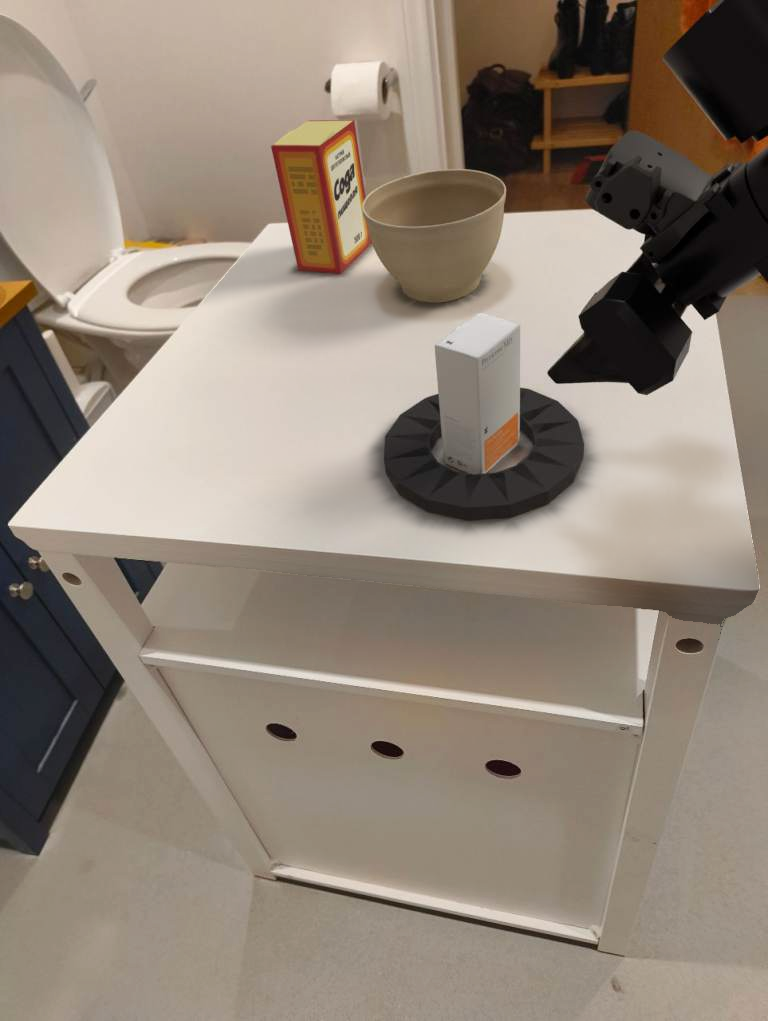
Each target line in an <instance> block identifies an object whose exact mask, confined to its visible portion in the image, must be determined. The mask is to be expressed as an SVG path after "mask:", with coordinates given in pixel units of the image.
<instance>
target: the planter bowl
mask: <svg viewBox="0 0 768 1021" xmlns="http://www.w3.org/2000/svg"><path fill="white" fill-rule="evenodd" d="M365 197H366V198H365V199H364V201H363V204H362V211H363V216H364V218H365V221H366V223H367V227H368V232H369V236H370V239H371V242H372V243H371V244H372V247H373V250H374V252H375V253H376V256H377V258H378V259H379V261H380V263H381V264H382V265H383V267H384V268H385V269H386V271H387V272H388V273H389V274H390V276H391V277H393V278H394V279H395V280H396V281H397V282H398V283H399V284H400V287H401V289H402V292H403V293H404V295H405V296H407V297H408V298H410V299H412V300H415V301H418V302H423V303H445V302H451V301H455V300H458V299H461V298H464V297H466V296H467V295H470V294H471V293H473V292H474V291H475V290H476V289H477V288H478V287H479V285H480V283H481V279H482V274H483V272H484V271H485V270H486V268H487V267H488V264H489V263H490V262H491V261H492V258H493V256H494V254H495V252H496V250H497V246H498V244H499V241H500V238H501V234H502V230H503V225H504V218H505V217H504V215H505V203H506V200H507V199H506V198H507V186H506V185H505V183H504V181H503V180H502V179H500V177H497V176H496V175H493V174H491V173H488V172H486V171H485V172H484V171H481V170H475V169H468V168H467V169H466V168H448V169H434V170H427V171H422V172H416V173H413V174H409V175H405V176H402V177H399V178H396V179H393V180H391V181H388V182H385V183H384V184H382V185H380V186H378V187H377V188H375V189H374V190H372V191H370V193H368V194H367V196H365Z"/></svg>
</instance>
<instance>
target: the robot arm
mask: <svg viewBox="0 0 768 1021" xmlns="http://www.w3.org/2000/svg"><path fill="white" fill-rule="evenodd" d="M661 59H662V61H663V63H664V64H665V65H666V66H667V68H668V69H669V70H670V71H671V72H672V74H673V75H674V76H675V78H676V79H677V80H678V81H679V82H680V84H681V85H682V87H683V88H684V89H685V90H686V91H687V93H688V94H689V95H690V97H691V99H693V100H694V102H695V103H696V104H697V106H698V107H699V108H700V110H701V111H702V112H703V113H704V115H705V116H706V117H707V119H709V122H711V124H712V125H713V126H714V127H715V129H716V130H717V132H719V134H720V135H721V136H722V138H723V139H724V140H725V141H729V140H731V139H733V138H736V140H737V141H738V142H739V143H740V144H743V143H745V142H746V141H748V140H749V139H751V138H752V139H753V140H754V141H755V142H756V143H758V142H760V141H762V140H764V139H765V138H767V137H768V0H718V1H716V2H715V3H714V4H713V5H712V6H710V8H708V9H707V11H705V13H703V14H702V15H701V16H700V18H698V20H696V21H695V22H694V24H692V25H691V27H689V29H687V31H685V33H683V35H682V36H680V37H679V38H678V39H677V41H675V43H673V45H671V47H670V48H669V49H667V51H666V52H665V53H664V54H663V55H662V56H661ZM589 184H590V185H589V186H590V187H589V190H588V192H587V193H586V195H585V197H584V199H585V203H586V205H588V206H589V208H591V209H592V210H593V211H595V212H597V213H598V214H599V215H602V216H603V217H605V218H606V219H608V220H610V221H611V222H613V223H615V224H617V225H619V226H620V227H622V228H623V229H625V230H628V231H630V230H634V231H635V232H637V233H639V234H642V235H644V241H643V243H642V244H641V246H640V247H639V249H640V251H641V254H640V255H639V256H638V257H637V258H636V259H635V261H634V262H633V263H632V264H631V265H630V267H629V268H627V270H626V271H620V272H619V273H618V274H617V275H615V276H614V277H613V278H611V279H610V280H609V281H608V282H606V284H604V285H603V286H602V287H601V288H600V289H598V291H597V292H594V294H593V295H592V296H591V298H590V299H589V300H588V301H587V303H586V305H584V307H583V308H582V310H581V312H580V313H579V314H578V320H579V325H580V329H581V330H582V331H583V333H582V334H581V335H580V336H579V337H578V338H577V339H576V340H575V341H574V342H573V343H572V344H571V345H570V346H569V347H568V348H567V349H566V351H565V352H563V354H561V356H560V357H559V358H558V359H557V360H556V361H555V362H554V363H553V364H552V366H550V368H549V369H548V370H547V373H546V374H547V376H548V377H549V378H550V379H551V380H552V382H554V384H557V385H561V384H563V385H564V384H565V385H566V384H567V385H568V384H589V383H590V384H591V383H620V384H629V385H630V386H631V387H632V389H633V390H634V391H635V392H636V393H637V394H639V395H643V396H648V395H650V394H652V393H654V392H656V391H657V390H659V389H662V387H665V386H666V385H668V384H670V383H671V382H673V381H674V379H675V378H676V376H677V374H678V372H679V370H680V369H681V366H682V365H683V363H684V361H685V359H686V357H687V355H688V353H689V352H690V347H691V341H692V335H693V330H692V329H691V328H690V327H689V326H688V325H687V323H686V322H685V321H684V320H683V318H682V317H683V316H684V314H685V311H686V310H687V308H688V307H689V306H692V307H693V308H694V310H696V312H697V313H698V314H699V316H701V318H702V319H703V321H706V320H707V319H709V318H711V317H712V316H714V315H715V314H716V315H717V313H719V312H720V310H721V308H722V306H723V305H724V303H725V301H726V299H727V297H728V296H730V295H731V294H733V293H734V292H736V291H737V290H739V289H741V288H742V287H743V286H745V285H747V284H749V283H751V282H752V281H753V280H755V279H757V278H758V277H760V276H761V277H762V278H763V279H764V281H766V282H767V283H768V146H767V147H764V149H763V150H761V151H759V153H757V154H756V155H754V156H753V157H752V158H751V159H749V160H748V161H747V162H746V163H744V162H743V161H742V160H739V161H738V162H736V163H735V164H734V163H733V161H730V162H729V163H727V164H726V165H725V166H723V167H722V168H721V169H720V170H718V171H717V172H715V173H714V174H712V175H711V174H710V173H708V172H707V171H705V170H704V169H702V168H700V167H699V166H697V164H695V162H694V161H692V160H691V159H689V158H688V157H686V156H685V155H683V154H681V153H679V152H677V151H676V150H674V149H672V148H670V147H669V146H667V145H665V144H664V143H662V142H660V141H658V140H656V139H655V138H653V137H651V136H650V135H648V134H646V133H644V132H641V131H638V130H628V131H626V132H625V133H624V134H623V135H622V136H621V137H620V138H619V140H617V142H615V144H614V145H613V146H612V147H611V148H610V149H609V151H608V152H607V155H606V157H605V158H604V160H603V162H602V164H601V166H600V168H599V170H598V172H597V173H596V174H595V176H594V177H592V179H591V180H590V183H589Z"/></svg>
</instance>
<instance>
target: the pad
mask: <svg viewBox="0 0 768 1021" xmlns="http://www.w3.org/2000/svg"><path fill="white" fill-rule="evenodd" d="M579 422H580V421H579V420H578V419H577V418H576V416H574V415H573V414H572V413H571V412H570V411H569V410H568V409H567V408H566V407H565V406H564V405H563V404H562V403H561V402H560V401H558V400H557V399H554V398H552V397H549V396H548V395H545V394H543V393H540V392H539V391H538V392H537V391H535V390H533V389H531V388H526V387H520V432H522V433H523V434H524V435H525V437H526V438H527V439H528V440H529V441H530V442H531V444H532V448H531V449H530V452H529V454H528V455H527V456H525V457H524V458H522V460H520V461H519V462H518V463H517V464H515V465H513V466H510V467H508V468H505V469H502V470H501V469H500V470H498V471H496V472H487V473H484V474H469V473H467V472H465V471H458V470H453V469H452V468H450V467H448V466H446V465H444V464H443V463H440V462H439V461H438V460H437V459H436V457H435V456H434V454H433V453H432V450H433V449H434V447H435V446H436V444H437V442H438V441H439V439H440V438H442V432H441V419H440V407H439V394H438V393H436V394H432V395H429V396H427V397H425V398H422V399H421V400H420V401H418V402H417V403H415V404H414V405H413V406H411V407H409V408H408V409H406V410H404V411H403V412H402V413H400V414H399V415H398V417H397V418H396V420H395V421H394V423H393V424H392V426H390V429H389V430H388V431H387V433H386V434H385V436H384V448H383V450H384V451H383V463H384V471H385V474H386V475H387V477H388V479H389V480H390V482H391V484H392V485H393V487H394V489H395V491H396V492H397V493H398V495H399V496H401V497H402V498H404V499H405V500H407V501H408V502H410V503H411V504H413V505H415V506H416V507H418V508H420V509H422V510H423V511H425V512H427V513H428V514H434V515H438V516H443V517H448V518H453V519H457V520H461V521H467V522H473V521H486V520H499V519H510V518H514V517H516V516H519V515H523V514H525V513H527V512H530V511H534V510H536V509H538V508H541V507H544V506H547V505H548V504H550V503H551V502H552V501H553V500H554V499H556V498H558V496H560V495H561V494H562V493H563V492H564V491H565V490H566V489H568V488H569V487H570V486H572V484H573V483H574V482H575V480H576V477H577V474H578V472H579V470H580V466H581V464H582V462H583V459H584V455H585V454H584V452H585V442H584V438H583V433H582V431H581V426H580V423H579Z"/></svg>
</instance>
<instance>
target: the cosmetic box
mask: <svg viewBox="0 0 768 1021" xmlns="http://www.w3.org/2000/svg"><path fill="white" fill-rule="evenodd" d="M434 355H435V356H434V357H435V368H436V382H437V392H438V393H437V394H439V407H440V419H441V432H442V437H441V443H442V444H441V445H442V455H443V462H444V463H445V464H447V465H449V466H451V467H453V468H456V469H457V470H460V471H461V472H464V473H469V474H484V473H489V472H490V471H491V470H492V469H493V468H494V467H495V466H496V465H497V464H498V463H499V462H500V461H501V460H502V459H504V458H505V457H506V456H507V455H508V454H510V452H512V451H513V450H514V449H515V448H516V447H517V446H519V445H520V441H521V440H520V437H521V436H520V435H521V434H520V433H521V431H520V388H521V324H520V323H517V322H514V321H511V320H507V319H503V318H500V317H497V316H493V315H490V314H487V313H484V312H478V313H477V314H475V315H474V316H473V317H471V318H470V319H468V320H467V321H466V322H463V323H461V324H460V325H459V326H457V327H456V328H454V330H452V331H451V332H450V333H449V334H448V335H446V336H445V337H443V338H442V339H441V340H440V341H438V342H437V343H436V344H435V345H434Z"/></svg>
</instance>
